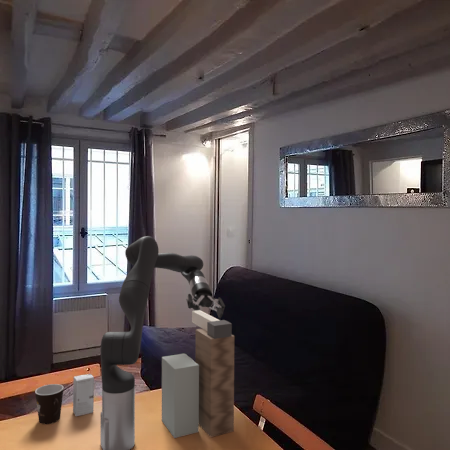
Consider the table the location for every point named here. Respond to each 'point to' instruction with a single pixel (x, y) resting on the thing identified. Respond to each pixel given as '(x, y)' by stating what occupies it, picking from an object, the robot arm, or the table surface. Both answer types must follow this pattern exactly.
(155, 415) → the table surface
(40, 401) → the coffee mug
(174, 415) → the pale green block
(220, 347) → the brown tall block
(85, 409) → the skincare box
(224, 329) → the bar
